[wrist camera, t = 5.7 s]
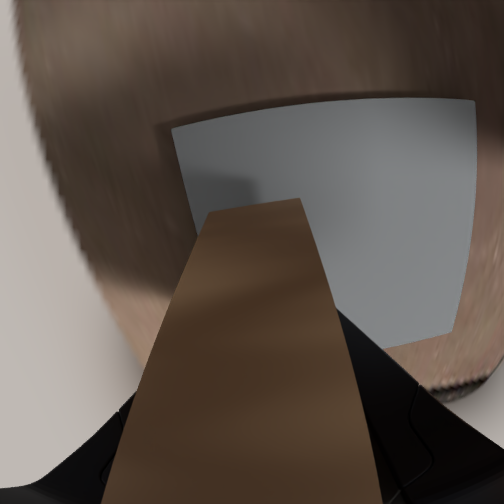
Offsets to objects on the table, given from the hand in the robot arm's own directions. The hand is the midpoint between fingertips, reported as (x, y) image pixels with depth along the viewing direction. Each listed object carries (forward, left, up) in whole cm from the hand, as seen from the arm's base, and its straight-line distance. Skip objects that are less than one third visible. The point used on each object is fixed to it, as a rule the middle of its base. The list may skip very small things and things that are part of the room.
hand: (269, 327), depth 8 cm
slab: (0, 0, -2) cm, 2 cm away
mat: (-3, 0, -4) cm, 5 cm away
